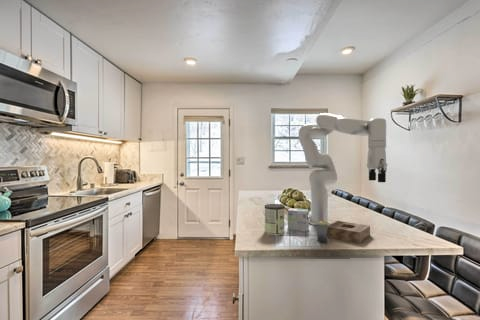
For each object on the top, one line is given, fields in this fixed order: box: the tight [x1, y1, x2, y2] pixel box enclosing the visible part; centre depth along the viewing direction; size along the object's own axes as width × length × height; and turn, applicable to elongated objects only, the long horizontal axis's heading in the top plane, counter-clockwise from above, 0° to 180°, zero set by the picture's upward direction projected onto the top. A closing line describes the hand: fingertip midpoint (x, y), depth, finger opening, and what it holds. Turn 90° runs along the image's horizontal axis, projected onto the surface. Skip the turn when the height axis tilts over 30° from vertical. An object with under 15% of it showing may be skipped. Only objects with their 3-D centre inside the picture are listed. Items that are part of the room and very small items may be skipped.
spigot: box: [316, 221, 328, 244], centre depth 122 cm, size 4×4×9 cm
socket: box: [327, 220, 371, 244], centre depth 130 cm, size 16×16×5 cm
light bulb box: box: [287, 207, 310, 232], centre depth 144 cm, size 11×7×11 cm, turn 71°
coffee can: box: [264, 203, 286, 236], centre depth 137 cm, size 10×10×14 cm
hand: (376, 181), depth 125 cm, fingers open, 9 cm apart
